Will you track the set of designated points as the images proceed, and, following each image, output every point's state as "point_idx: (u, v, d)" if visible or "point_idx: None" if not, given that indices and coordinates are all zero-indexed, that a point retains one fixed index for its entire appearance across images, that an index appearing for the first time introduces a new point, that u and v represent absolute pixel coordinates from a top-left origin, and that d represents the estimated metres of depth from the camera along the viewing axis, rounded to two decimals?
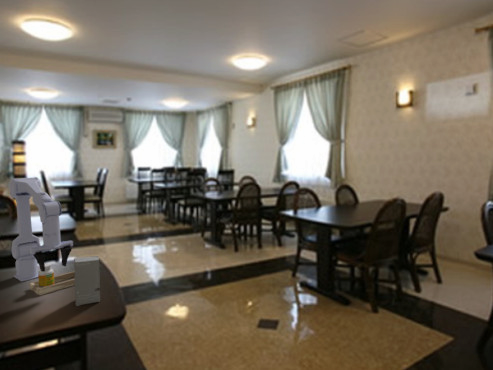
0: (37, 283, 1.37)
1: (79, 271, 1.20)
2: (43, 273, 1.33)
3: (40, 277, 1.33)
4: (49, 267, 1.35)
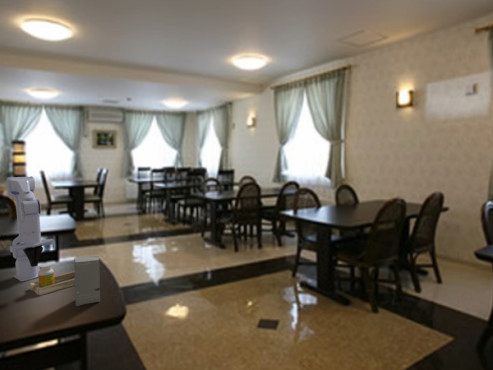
0: (37, 283, 1.37)
1: (79, 271, 1.20)
2: (43, 273, 1.33)
3: (40, 277, 1.33)
4: (49, 267, 1.35)
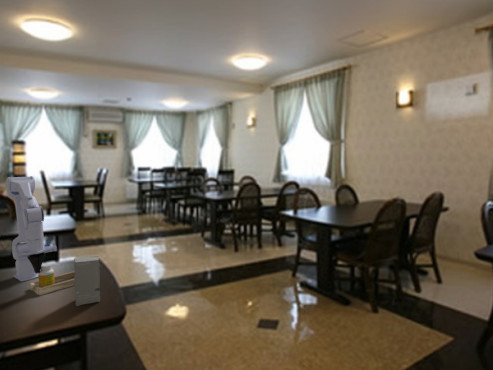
0: (37, 283, 1.37)
1: (79, 271, 1.20)
2: (43, 273, 1.33)
3: (40, 277, 1.33)
4: (49, 267, 1.35)
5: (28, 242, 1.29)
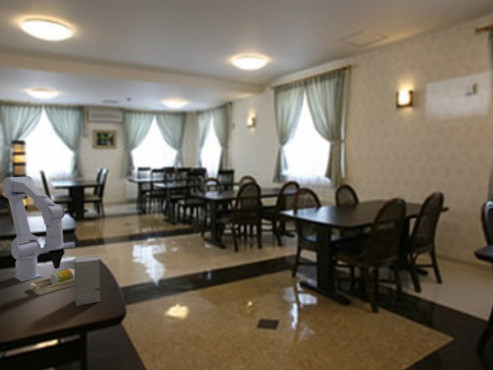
0: (37, 283, 1.37)
1: (79, 271, 1.20)
2: (72, 271, 1.43)
3: (67, 270, 1.42)
4: None
5: (48, 238, 1.35)
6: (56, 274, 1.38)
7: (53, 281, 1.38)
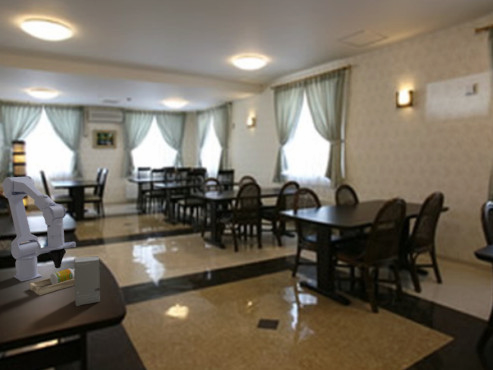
0: (37, 283, 1.37)
1: (79, 271, 1.20)
2: (72, 270, 1.43)
3: (67, 270, 1.42)
4: None
5: (49, 238, 1.35)
6: (55, 273, 1.38)
7: (53, 281, 1.38)
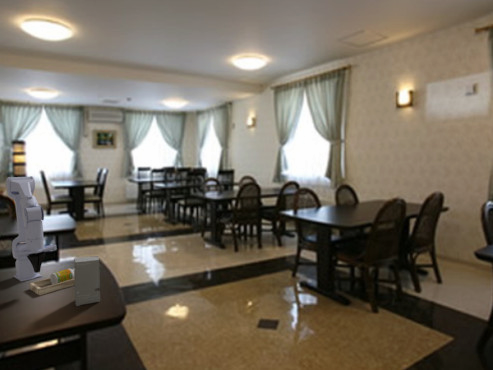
0: (37, 283, 1.37)
1: (79, 271, 1.20)
2: (72, 270, 1.43)
3: (67, 270, 1.42)
4: None
5: (28, 241, 1.29)
6: (55, 273, 1.38)
7: (53, 281, 1.38)
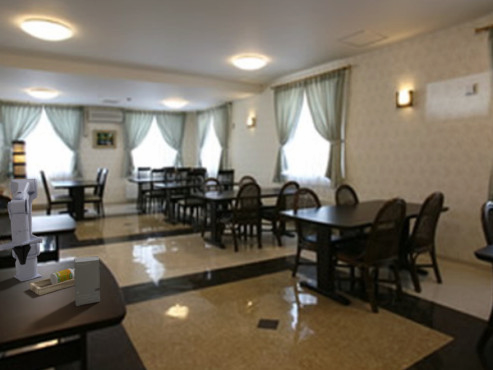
0: (37, 283, 1.37)
1: (79, 271, 1.20)
2: (72, 270, 1.43)
3: (67, 270, 1.42)
4: None
5: (13, 233, 1.30)
6: (55, 273, 1.38)
7: (53, 281, 1.38)
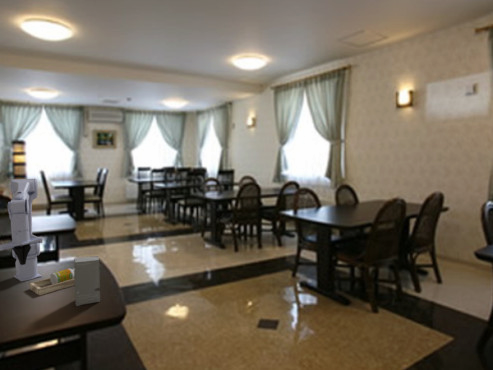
0: (37, 283, 1.37)
1: (79, 271, 1.20)
2: (72, 270, 1.43)
3: (67, 270, 1.42)
4: None
5: (13, 233, 1.30)
6: (55, 273, 1.38)
7: (53, 281, 1.38)
